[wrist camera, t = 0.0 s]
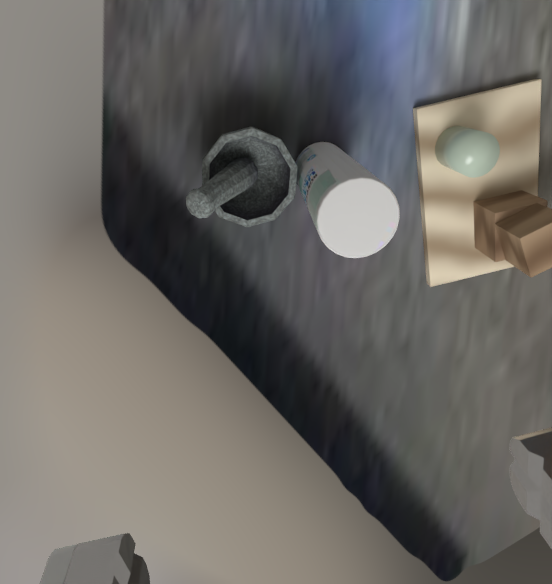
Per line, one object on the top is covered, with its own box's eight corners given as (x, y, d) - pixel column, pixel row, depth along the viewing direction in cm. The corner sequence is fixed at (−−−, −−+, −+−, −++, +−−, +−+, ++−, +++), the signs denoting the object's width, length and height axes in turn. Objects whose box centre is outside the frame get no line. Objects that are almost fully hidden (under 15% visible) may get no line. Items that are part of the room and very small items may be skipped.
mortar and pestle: (278, 112, 52) (294, 124, 41) (297, 194, 56) (316, 225, 46) (178, 139, 52) (168, 158, 41) (204, 219, 56) (201, 256, 46)
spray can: (292, 140, 54) (317, 177, 35) (350, 139, 54) (404, 175, 36) (292, 198, 56) (315, 260, 38) (347, 196, 57) (396, 257, 39)
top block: (494, 224, 54) (519, 238, 49) (536, 202, 53) (566, 215, 49) (505, 260, 56) (530, 277, 51) (546, 240, 55) (575, 255, 51)
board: (412, 108, 54) (416, 109, 52) (534, 79, 54) (541, 79, 53) (426, 283, 63) (430, 286, 62) (530, 257, 63) (535, 261, 62)
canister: (433, 131, 54) (455, 137, 49) (473, 121, 54) (499, 127, 49) (436, 171, 56) (457, 182, 51) (474, 162, 56) (499, 171, 51)
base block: (473, 201, 58) (495, 213, 53) (521, 190, 58) (547, 200, 53) (474, 247, 60) (495, 262, 56) (521, 236, 60) (545, 250, 56)
